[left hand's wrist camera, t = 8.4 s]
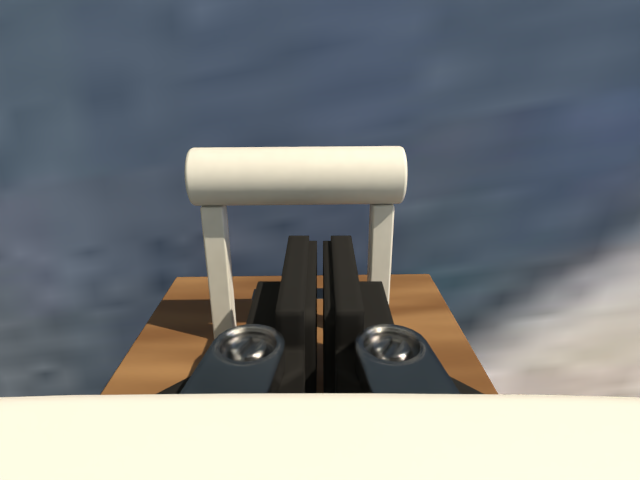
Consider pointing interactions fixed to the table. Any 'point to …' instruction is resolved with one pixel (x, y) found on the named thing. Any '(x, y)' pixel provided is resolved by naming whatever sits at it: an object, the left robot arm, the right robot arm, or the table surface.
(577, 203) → the table surface
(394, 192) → the drawer
